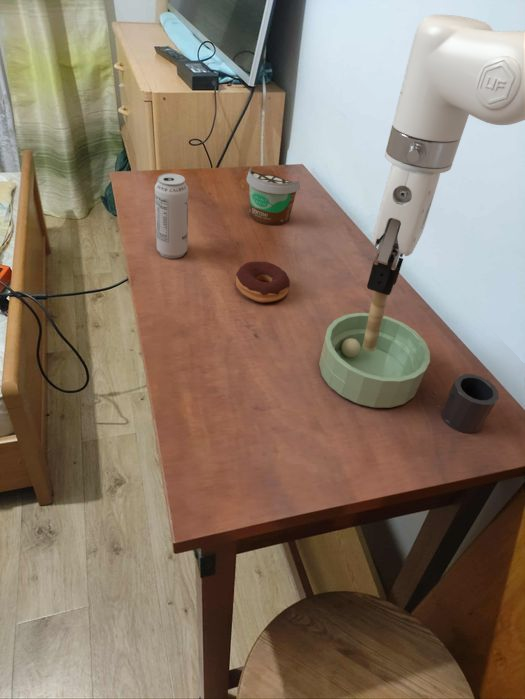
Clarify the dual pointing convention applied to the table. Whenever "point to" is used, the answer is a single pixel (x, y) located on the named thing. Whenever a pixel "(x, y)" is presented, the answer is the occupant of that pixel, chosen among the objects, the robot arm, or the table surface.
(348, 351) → the ball
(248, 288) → the donut
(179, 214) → the energy drink can
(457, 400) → the holder
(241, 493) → the table surface
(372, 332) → the stick
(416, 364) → the bowl
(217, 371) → the table surface
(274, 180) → the food container
